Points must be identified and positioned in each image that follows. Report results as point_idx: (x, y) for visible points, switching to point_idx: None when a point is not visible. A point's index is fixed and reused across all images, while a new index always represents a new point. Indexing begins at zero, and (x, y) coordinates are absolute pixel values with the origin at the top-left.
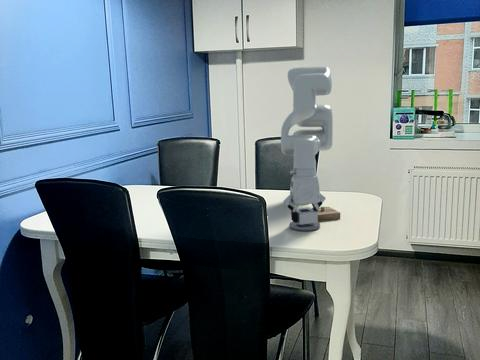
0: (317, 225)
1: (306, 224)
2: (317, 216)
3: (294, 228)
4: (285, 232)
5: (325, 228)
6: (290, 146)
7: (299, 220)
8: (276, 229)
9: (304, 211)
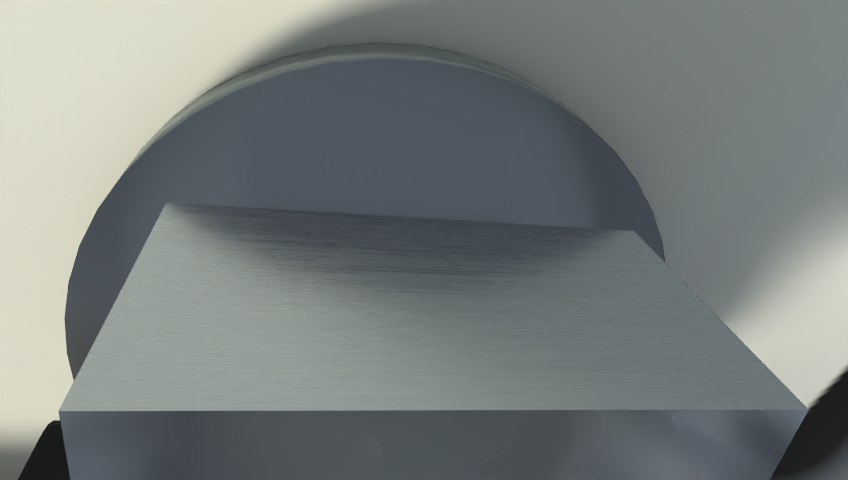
0: (190, 166)
1: None
2: (127, 292)
3: (652, 249)
4: (816, 199)
5: (11, 81)
6: None
7: (679, 287)
8: (794, 372)
9: None
